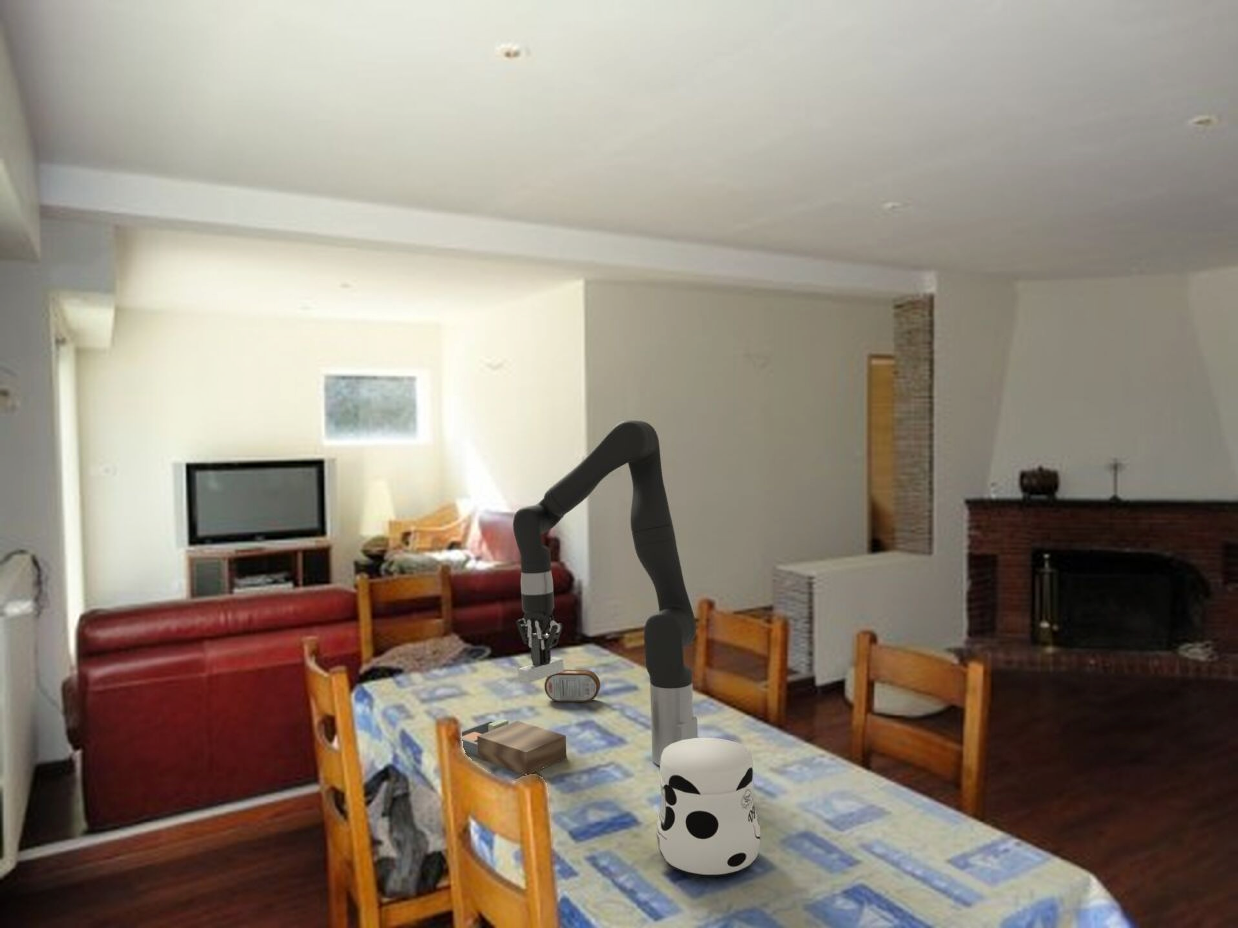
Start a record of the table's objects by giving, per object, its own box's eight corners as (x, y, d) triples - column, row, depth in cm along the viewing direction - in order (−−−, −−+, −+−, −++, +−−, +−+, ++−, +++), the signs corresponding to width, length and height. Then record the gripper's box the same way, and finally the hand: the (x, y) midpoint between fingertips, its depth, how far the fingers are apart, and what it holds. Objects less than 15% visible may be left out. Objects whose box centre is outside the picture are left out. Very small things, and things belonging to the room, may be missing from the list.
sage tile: (508, 720, 196) (502, 718, 197) (493, 725, 192) (488, 724, 194) (509, 739, 196) (503, 737, 197) (494, 744, 192) (488, 743, 194)
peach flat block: (474, 731, 196) (475, 739, 196) (459, 737, 193) (459, 745, 193) (487, 735, 193) (487, 744, 193) (471, 741, 190) (472, 750, 190)
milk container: (782, 859, 139) (779, 753, 138) (712, 900, 128) (709, 785, 127) (706, 824, 152) (703, 727, 151) (636, 858, 141) (633, 754, 140)
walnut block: (566, 757, 185) (565, 735, 185) (526, 775, 176) (526, 752, 176) (517, 741, 196) (517, 720, 196) (478, 757, 187) (477, 735, 186)
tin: (600, 699, 225) (599, 668, 225) (599, 703, 222) (598, 671, 222) (546, 699, 227) (545, 668, 226) (543, 703, 223) (542, 672, 223)
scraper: (563, 670, 199) (561, 633, 199) (527, 683, 190) (525, 644, 190) (554, 669, 201) (552, 632, 201) (518, 681, 192) (516, 643, 192)
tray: (519, 740, 196) (518, 728, 196) (478, 757, 187) (477, 744, 187) (491, 731, 203) (491, 719, 203) (450, 747, 193) (449, 734, 193)
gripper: (569, 589, 193) (573, 663, 194) (527, 585, 202) (531, 655, 203) (547, 595, 188) (551, 671, 188) (505, 590, 197) (509, 663, 197)
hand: (541, 663), depth 196 cm, fingers closed on scraper, 2 cm apart
